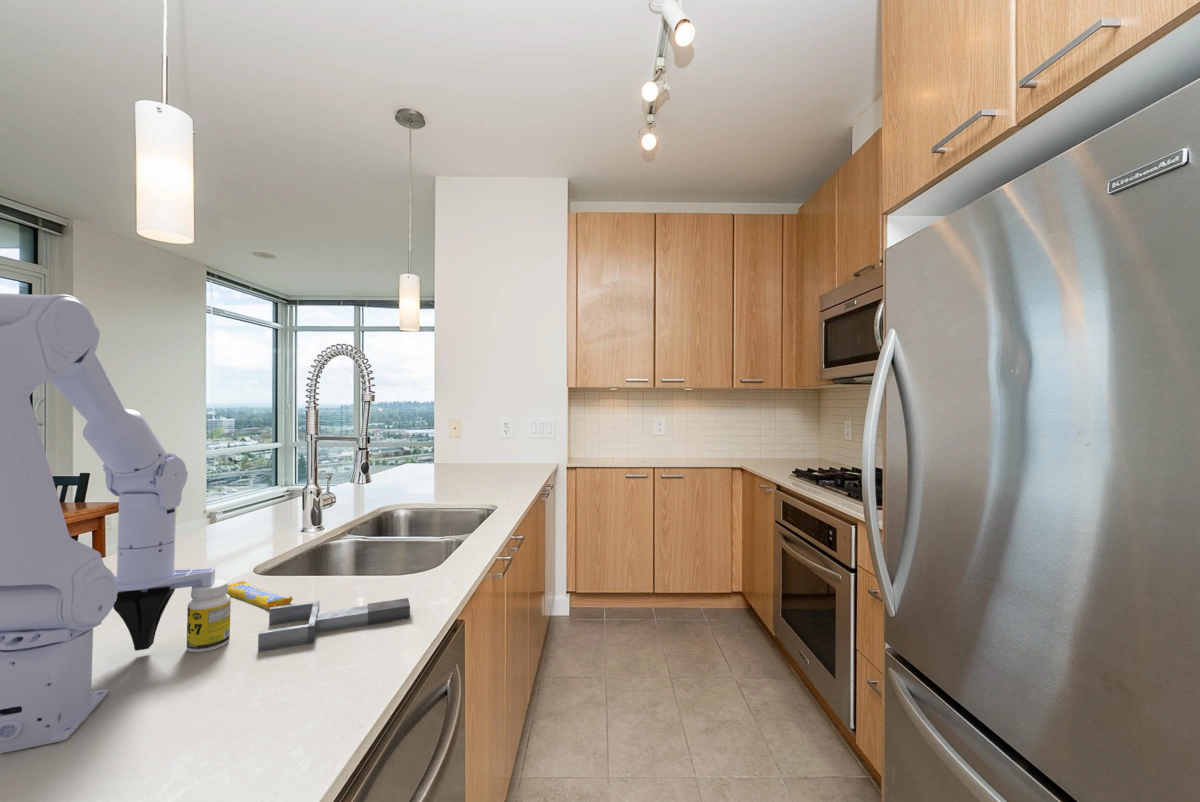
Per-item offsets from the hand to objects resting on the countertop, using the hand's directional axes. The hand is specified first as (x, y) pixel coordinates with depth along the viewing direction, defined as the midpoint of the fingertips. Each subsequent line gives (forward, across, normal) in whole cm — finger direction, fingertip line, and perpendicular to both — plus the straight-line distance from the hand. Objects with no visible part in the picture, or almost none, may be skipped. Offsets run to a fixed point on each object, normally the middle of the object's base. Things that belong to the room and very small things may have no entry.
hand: (144, 646), depth 67 cm
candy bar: (+2, -10, -18) cm, 21 cm away
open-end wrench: (+1, -23, 0) cm, 23 cm away
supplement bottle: (+1, -7, 0) cm, 7 cm away
